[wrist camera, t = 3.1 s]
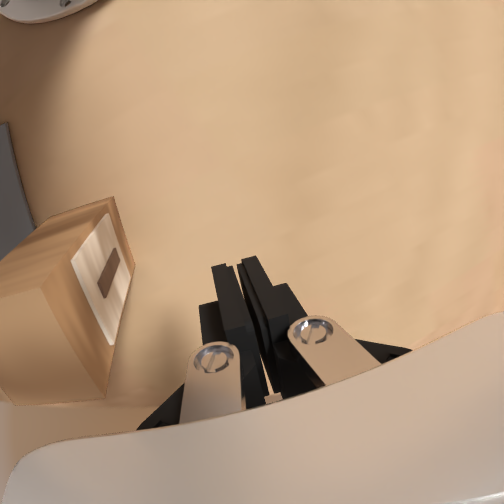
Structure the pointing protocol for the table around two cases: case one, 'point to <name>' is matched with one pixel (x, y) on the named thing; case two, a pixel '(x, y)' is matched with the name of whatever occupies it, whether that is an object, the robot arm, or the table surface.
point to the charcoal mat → (11, 199)
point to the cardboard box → (64, 306)
